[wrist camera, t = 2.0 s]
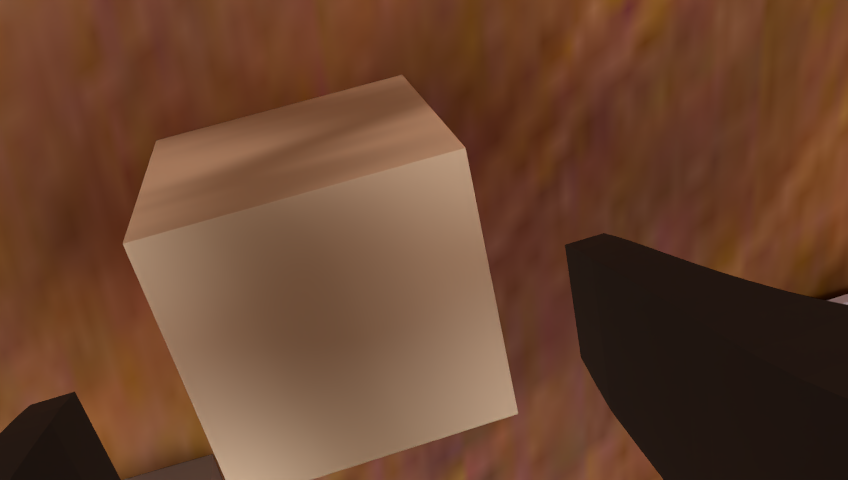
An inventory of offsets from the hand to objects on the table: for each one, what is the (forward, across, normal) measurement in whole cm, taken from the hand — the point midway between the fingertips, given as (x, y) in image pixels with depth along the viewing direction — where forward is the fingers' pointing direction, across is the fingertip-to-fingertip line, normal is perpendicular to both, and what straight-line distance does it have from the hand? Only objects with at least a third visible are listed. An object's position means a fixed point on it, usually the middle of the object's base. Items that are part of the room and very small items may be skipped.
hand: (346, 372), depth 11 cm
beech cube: (+6, 0, 0) cm, 6 cm away
